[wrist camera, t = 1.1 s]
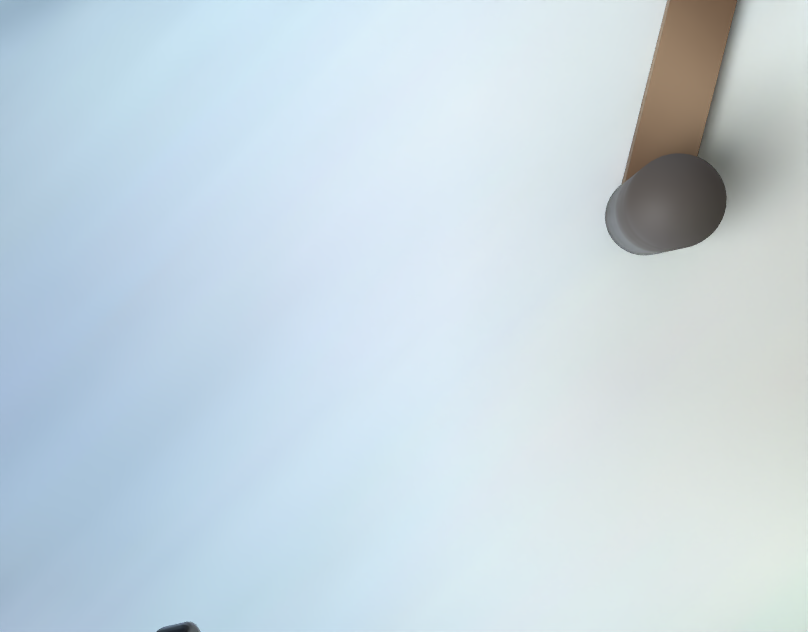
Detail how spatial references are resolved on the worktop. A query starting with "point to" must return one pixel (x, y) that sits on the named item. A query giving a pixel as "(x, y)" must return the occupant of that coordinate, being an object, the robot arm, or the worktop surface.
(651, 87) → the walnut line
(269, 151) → the worktop surface
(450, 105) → the worktop surface
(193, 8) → the worktop surface
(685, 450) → the worktop surface
